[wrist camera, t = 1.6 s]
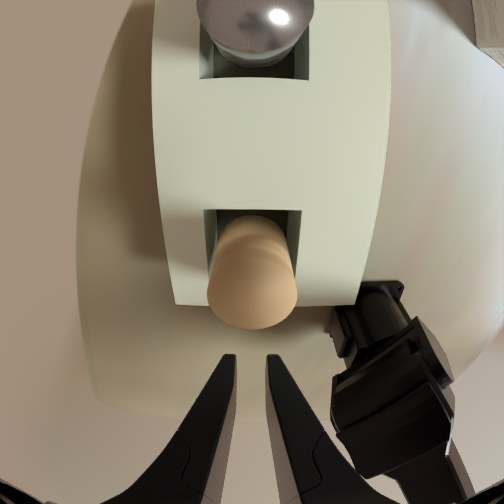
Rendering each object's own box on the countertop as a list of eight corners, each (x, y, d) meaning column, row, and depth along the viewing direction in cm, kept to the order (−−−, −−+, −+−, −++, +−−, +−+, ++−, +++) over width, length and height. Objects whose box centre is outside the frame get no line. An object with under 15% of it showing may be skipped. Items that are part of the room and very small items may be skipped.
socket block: (356, 15, 12) (386, -7, 7) (336, 265, 22) (354, 304, 17) (179, 7, 12) (157, -20, 7) (189, 264, 22) (175, 304, 17)
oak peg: (288, 215, 15) (302, 259, 11) (283, 275, 17) (292, 329, 13) (216, 214, 15) (202, 258, 11) (219, 274, 17) (210, 328, 13)
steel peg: (294, 5, 9) (312, -34, 5) (294, 70, 11) (315, 51, 7) (215, 4, 9) (199, -35, 5) (213, 69, 11) (194, 50, 7)
